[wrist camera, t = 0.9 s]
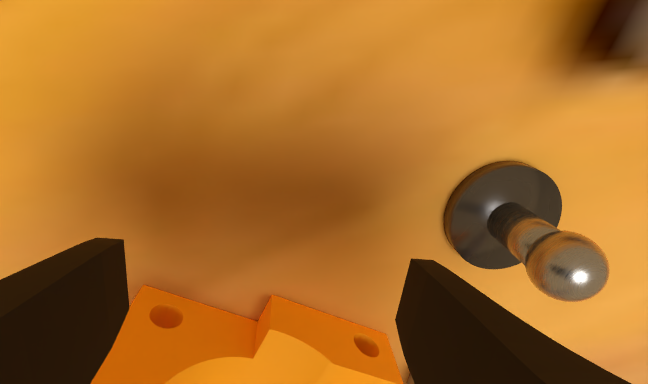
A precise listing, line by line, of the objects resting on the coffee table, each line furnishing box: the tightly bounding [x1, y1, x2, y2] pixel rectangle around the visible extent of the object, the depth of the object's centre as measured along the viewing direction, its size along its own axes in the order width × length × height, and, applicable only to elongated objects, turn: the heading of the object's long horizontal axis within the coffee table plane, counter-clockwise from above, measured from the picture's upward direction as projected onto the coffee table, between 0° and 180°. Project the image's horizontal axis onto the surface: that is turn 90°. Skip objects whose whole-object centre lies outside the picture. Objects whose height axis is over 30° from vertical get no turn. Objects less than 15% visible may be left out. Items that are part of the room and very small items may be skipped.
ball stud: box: [444, 161, 609, 302], centre depth 14 cm, size 5×5×6 cm
